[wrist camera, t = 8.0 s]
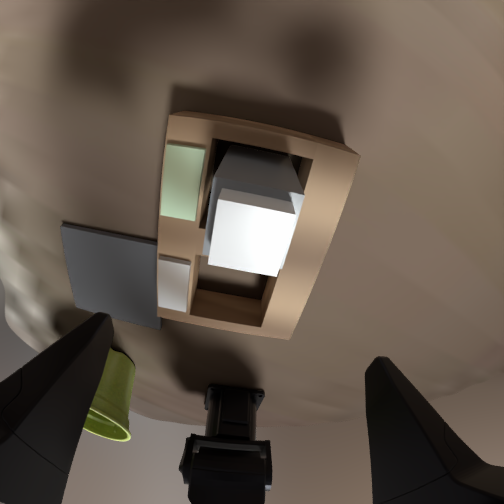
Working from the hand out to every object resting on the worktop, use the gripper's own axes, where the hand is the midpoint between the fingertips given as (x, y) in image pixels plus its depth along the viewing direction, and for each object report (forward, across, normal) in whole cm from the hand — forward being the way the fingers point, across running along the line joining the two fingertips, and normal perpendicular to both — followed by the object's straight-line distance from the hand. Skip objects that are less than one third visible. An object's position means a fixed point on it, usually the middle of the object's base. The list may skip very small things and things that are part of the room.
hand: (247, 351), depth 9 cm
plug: (+12, 0, -2) cm, 12 cm away
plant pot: (+12, +12, +22) cm, 28 cm away
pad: (+12, +10, +9) cm, 18 cm away
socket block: (+12, 0, +2) cm, 12 cm away
